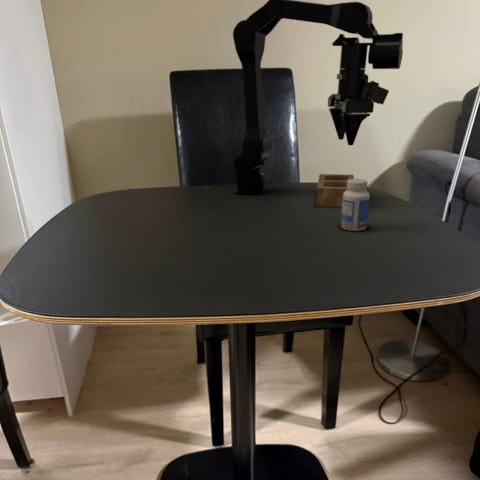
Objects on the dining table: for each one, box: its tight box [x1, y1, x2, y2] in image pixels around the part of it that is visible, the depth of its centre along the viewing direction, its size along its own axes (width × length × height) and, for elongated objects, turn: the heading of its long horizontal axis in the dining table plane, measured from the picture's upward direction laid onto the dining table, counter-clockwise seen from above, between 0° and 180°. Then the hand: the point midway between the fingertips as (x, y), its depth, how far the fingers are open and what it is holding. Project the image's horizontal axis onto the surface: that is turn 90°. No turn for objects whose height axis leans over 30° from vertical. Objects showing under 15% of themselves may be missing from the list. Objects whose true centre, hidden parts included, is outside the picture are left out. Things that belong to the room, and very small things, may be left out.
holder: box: [315, 173, 355, 208], centre depth 122 cm, size 9×16×4 cm, turn 170°
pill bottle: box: [340, 178, 371, 232], centre depth 99 cm, size 6×5×10 cm
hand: (345, 142), depth 115 cm, fingers open, 9 cm apart
